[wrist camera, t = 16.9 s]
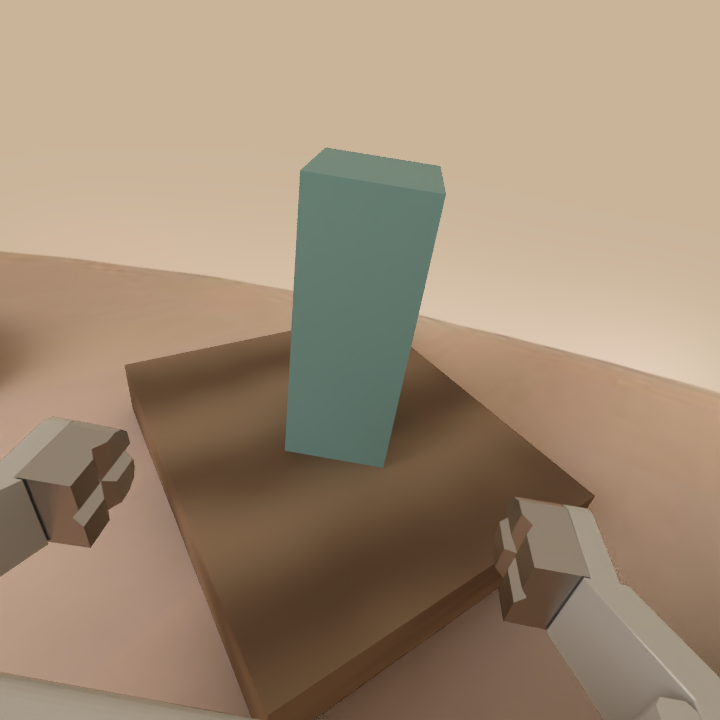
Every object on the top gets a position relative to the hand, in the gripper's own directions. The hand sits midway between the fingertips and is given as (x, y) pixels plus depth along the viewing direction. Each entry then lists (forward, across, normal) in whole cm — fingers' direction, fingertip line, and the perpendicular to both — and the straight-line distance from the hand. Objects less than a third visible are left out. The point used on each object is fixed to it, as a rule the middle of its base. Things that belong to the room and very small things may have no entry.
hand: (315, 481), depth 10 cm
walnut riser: (+10, 0, +11) cm, 15 cm away
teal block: (+10, 0, +8) cm, 13 cm away
